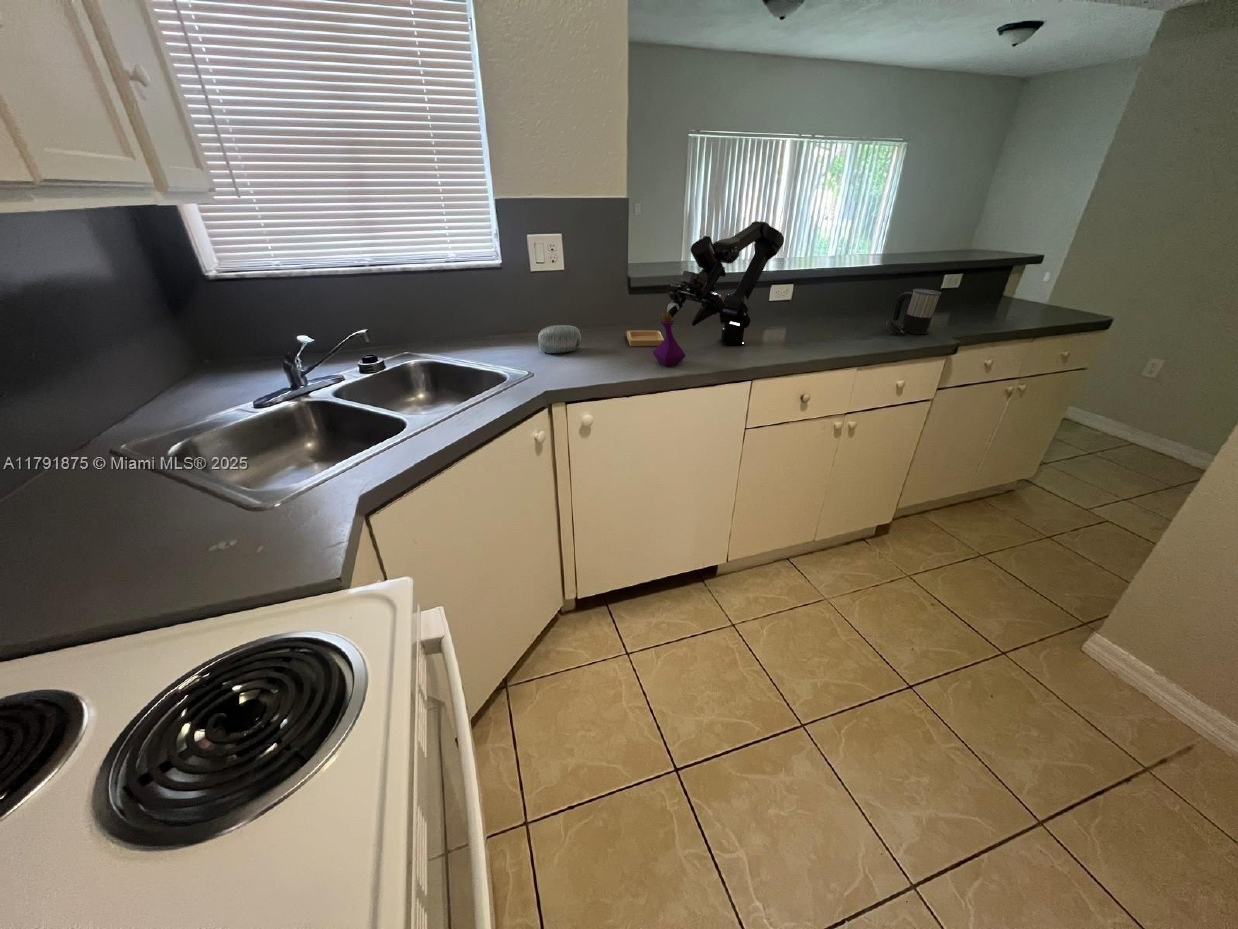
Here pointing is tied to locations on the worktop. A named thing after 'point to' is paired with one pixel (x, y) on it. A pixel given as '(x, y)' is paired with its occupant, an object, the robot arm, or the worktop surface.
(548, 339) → the grey rounded pouf
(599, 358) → the worktop surface
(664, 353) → the perfume bottle
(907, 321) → the milk frother
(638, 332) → the wooden tray
